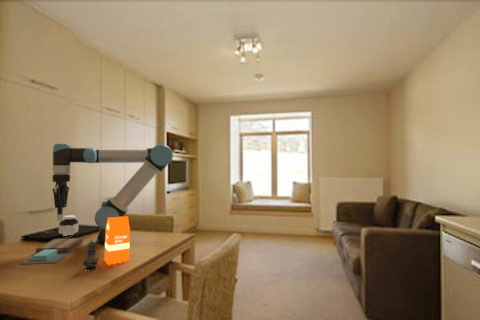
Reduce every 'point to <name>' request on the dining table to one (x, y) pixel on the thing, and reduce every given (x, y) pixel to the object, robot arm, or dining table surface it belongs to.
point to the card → (45, 254)
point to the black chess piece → (90, 257)
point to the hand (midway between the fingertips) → (60, 220)
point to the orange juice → (117, 240)
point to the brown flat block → (61, 245)
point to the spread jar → (68, 225)
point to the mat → (53, 259)
